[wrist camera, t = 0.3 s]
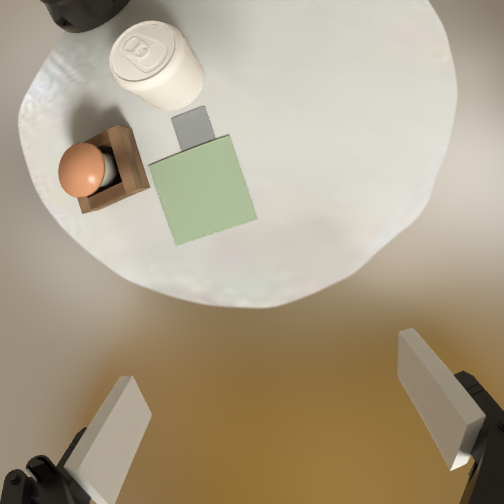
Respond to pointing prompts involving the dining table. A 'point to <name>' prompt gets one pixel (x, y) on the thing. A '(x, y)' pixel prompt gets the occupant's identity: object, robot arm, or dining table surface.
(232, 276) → the dining table surface
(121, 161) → the housing
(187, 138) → the pad
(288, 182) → the dining table surface
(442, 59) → the dining table surface
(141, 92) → the beverage can
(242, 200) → the pad
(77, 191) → the plunger
